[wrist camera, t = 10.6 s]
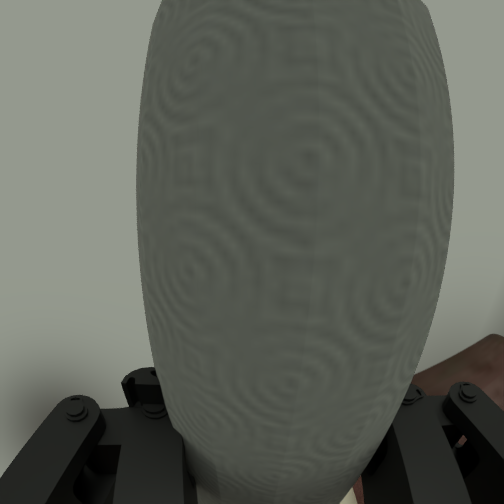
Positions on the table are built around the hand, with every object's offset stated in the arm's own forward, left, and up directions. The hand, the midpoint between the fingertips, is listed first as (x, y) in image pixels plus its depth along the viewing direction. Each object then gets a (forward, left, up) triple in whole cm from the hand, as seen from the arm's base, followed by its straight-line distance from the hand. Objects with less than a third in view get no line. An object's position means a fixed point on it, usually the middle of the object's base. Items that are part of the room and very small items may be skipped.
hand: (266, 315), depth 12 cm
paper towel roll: (-1, +5, -12) cm, 13 cm away
